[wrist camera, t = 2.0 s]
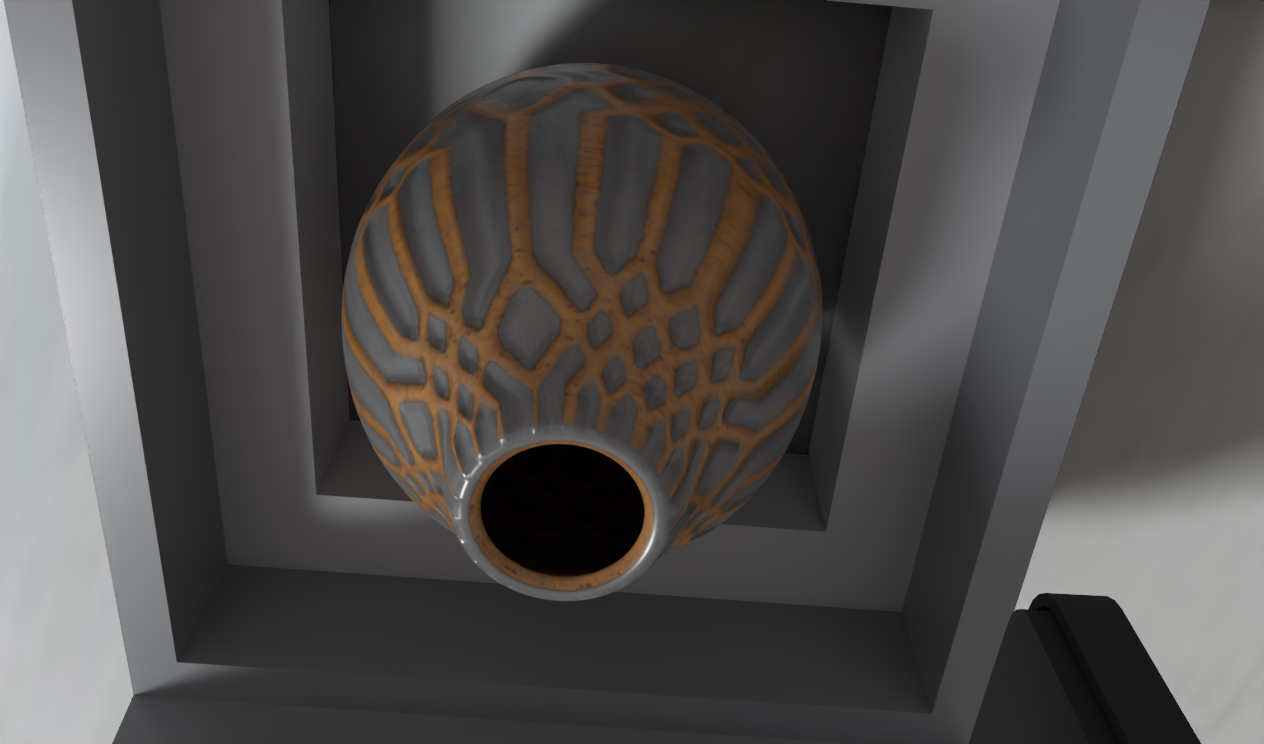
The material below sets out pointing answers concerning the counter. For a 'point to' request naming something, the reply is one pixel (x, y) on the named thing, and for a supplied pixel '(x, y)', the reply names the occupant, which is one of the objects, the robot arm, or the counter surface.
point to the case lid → (369, 727)
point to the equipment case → (679, 581)
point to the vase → (581, 323)
